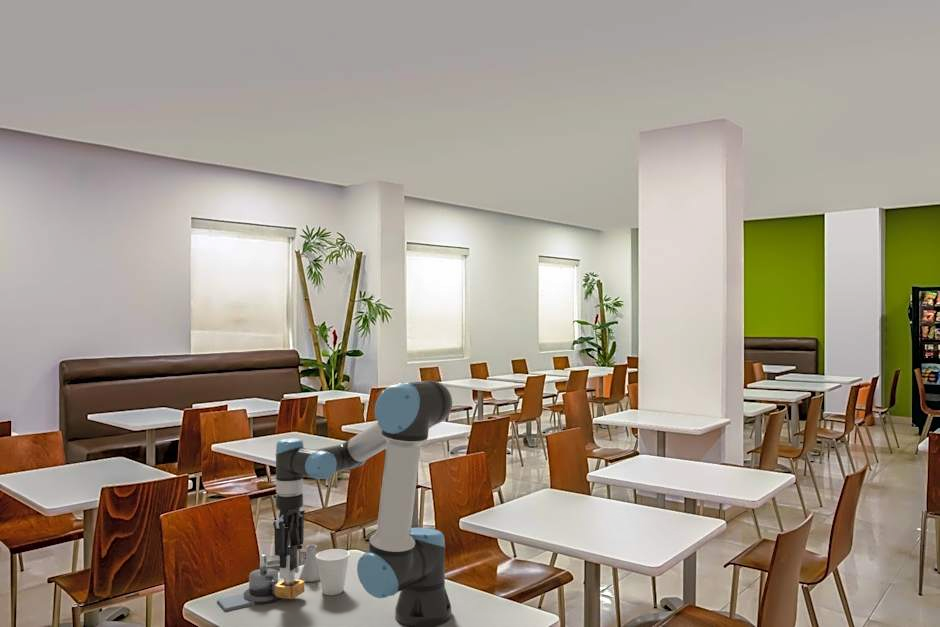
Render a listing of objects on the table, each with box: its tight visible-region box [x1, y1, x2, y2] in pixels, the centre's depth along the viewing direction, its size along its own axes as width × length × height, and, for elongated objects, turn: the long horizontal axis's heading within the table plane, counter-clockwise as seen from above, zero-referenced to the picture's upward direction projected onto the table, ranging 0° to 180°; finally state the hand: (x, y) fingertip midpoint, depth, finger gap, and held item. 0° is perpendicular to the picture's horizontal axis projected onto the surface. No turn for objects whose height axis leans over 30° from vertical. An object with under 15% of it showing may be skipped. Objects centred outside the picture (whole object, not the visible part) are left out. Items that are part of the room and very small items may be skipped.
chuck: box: [248, 553, 305, 600], centre depth 203 cm, size 16×8×10 cm, turn 74°
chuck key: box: [283, 542, 297, 587], centre depth 202 cm, size 4×4×14 cm
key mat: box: [216, 592, 255, 612], centre depth 199 cm, size 8×8×1 cm
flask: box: [298, 544, 321, 583], centre depth 219 cm, size 7×7×10 cm
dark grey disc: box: [243, 588, 282, 605], centre depth 204 cm, size 11×11×2 cm
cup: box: [316, 548, 351, 596], centre depth 208 cm, size 10×10×11 cm
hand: (289, 574), depth 202 cm, fingers closed on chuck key, 4 cm apart
